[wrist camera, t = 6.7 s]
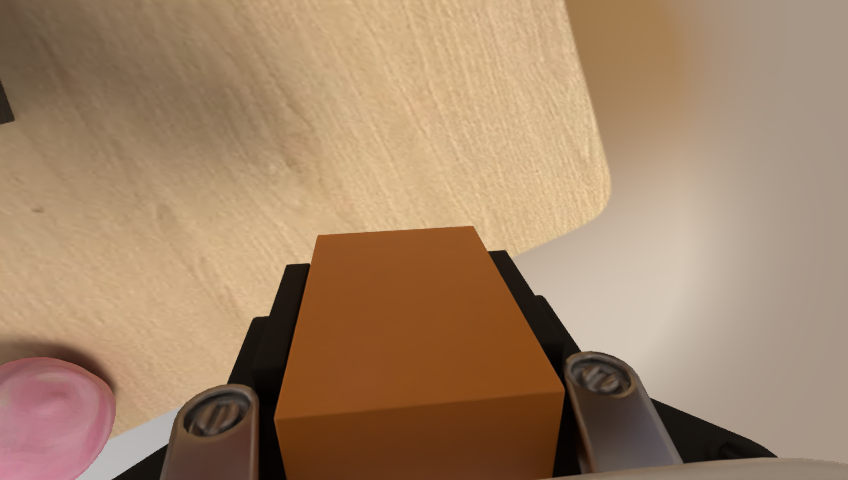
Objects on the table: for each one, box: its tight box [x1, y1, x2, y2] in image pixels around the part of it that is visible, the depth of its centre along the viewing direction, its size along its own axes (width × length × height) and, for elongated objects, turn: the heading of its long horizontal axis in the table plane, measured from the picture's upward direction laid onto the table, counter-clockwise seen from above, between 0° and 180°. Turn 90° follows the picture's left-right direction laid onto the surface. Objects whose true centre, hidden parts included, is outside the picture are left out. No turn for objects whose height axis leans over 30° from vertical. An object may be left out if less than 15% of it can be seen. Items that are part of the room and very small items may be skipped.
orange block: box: [274, 226, 565, 480], centre depth 10 cm, size 4×4×6 cm
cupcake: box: [0, 357, 116, 480], centre depth 30 cm, size 9×9×10 cm
